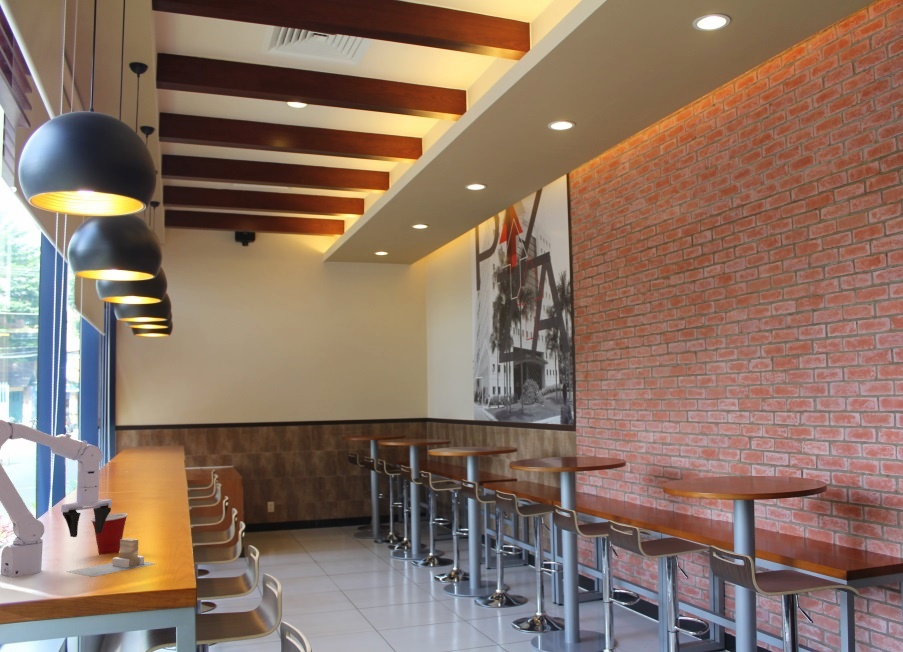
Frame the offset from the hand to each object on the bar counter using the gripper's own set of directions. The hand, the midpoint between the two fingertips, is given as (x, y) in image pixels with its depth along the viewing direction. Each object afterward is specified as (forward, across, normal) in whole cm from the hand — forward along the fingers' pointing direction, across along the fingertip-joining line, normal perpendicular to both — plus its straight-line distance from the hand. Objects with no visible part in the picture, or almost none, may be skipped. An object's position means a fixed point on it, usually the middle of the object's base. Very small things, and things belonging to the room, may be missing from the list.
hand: (86, 534), depth 226 cm
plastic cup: (+10, +16, +13) cm, 23 cm away
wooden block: (+8, +7, -10) cm, 15 cm away
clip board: (+9, +2, -10) cm, 14 cm away
